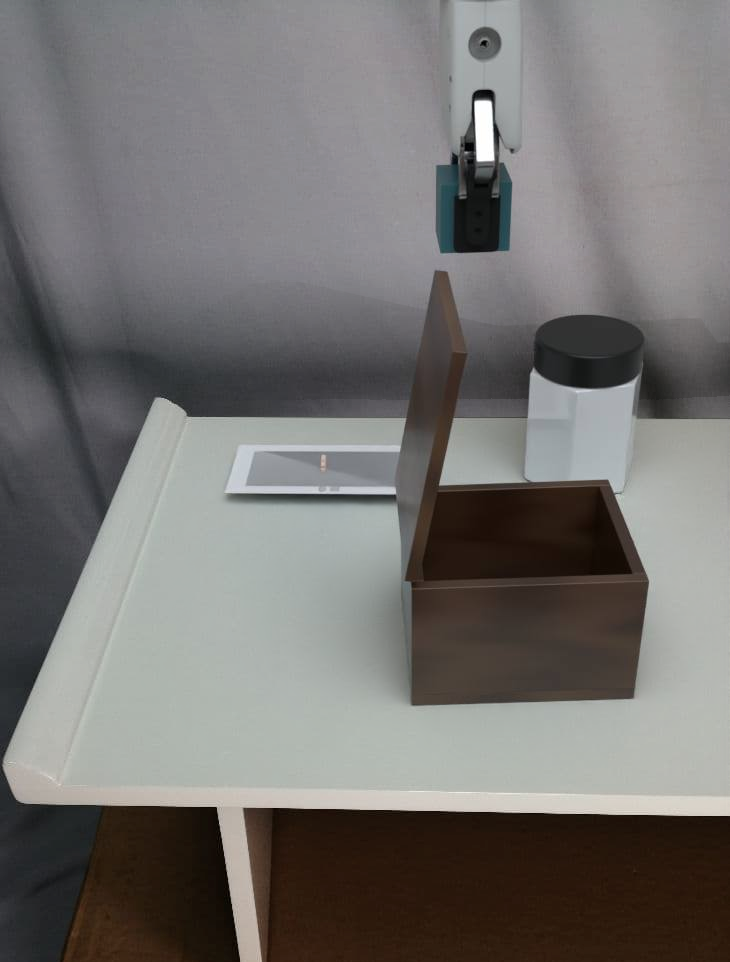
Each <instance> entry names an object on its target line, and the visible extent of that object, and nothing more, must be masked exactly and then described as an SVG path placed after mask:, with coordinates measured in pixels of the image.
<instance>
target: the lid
mask: <svg viewBox="0 0 730 962" xmlns="http://www.w3.org/2000/svg"><path fill="white" fill-rule="evenodd" d="M456 304H457V303H456V300H455V296H454V292H453V289H452V283H451V279H450V276H449V271H446V270H438V269H435V270H434V272H433V278H432V282H431V288H430V293H429V298H428V304H427V307H426V308H427V309H426V314H425V319H424V323H423V324H424V325H423V329H422V335H421V340H420V345H419V350H418V356H417V361H416V366H415V371H414V375H413V380H412V381H413V382H412V387H411V392H410V397H409V402H408V407H407V412H406V418H405V424H404V428H403V433H402V439H401V442H400V443H401V444H400V445H401V449H400V454H399V459H398V464H397V469H396V475H395V488H396V494H395V496H396V497H395V498H396V507H397V518H398V527H399V528H398V529H399V538H400V550H401V549H402V559H403V569H404V579H405V581H407V582H416V583H417V582H418V580H419V576H420V571H421V566H422V562H423V557H424V553H425V548H426V543H427V539H428V534H429V530H430V525H431V520H432V516H433V511H434V506H435V502H436V497H437V493H438V488H439V485H440V483H441V479H442V475H443V469H444V464H445V460H446V454H447V451H448V446H449V441H450V436H451V432H452V427H453V423H454V418H455V413H456V409H457V405H458V400H459V395H460V392H461V386H462V381H463V377H464V371H465V368H466V363H467V359H468V350H467V346H466V341H465V338H464V333H463V329H462V325H461V319H460V317H459V313H458V308H457V305H456Z"/></svg>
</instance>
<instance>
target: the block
mask: <svg viewBox="0 0 730 962" xmlns="http://www.w3.org/2000/svg"><path fill="white" fill-rule="evenodd" d="M469 166H474V164H467V171H468V169H469ZM499 194H500V196H501V203H500V228H499V248H498V250H497V251H496V252H509V251H510V246H511V245H510V243H511V224H512V223H511V222H512V204H513V203H512V202H513V201H512V200H513V180H512V178H511V176H510V173H509V171H508V169H507V165H506V164H505V162H503V161H502V162H499ZM454 196H459V195H458V164H453V165H450V164H436V165H435V235H436V239H437V244H438V248H439V253H440V254H458V253H457V252H455V250H454V246H453V244H454Z"/></svg>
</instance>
